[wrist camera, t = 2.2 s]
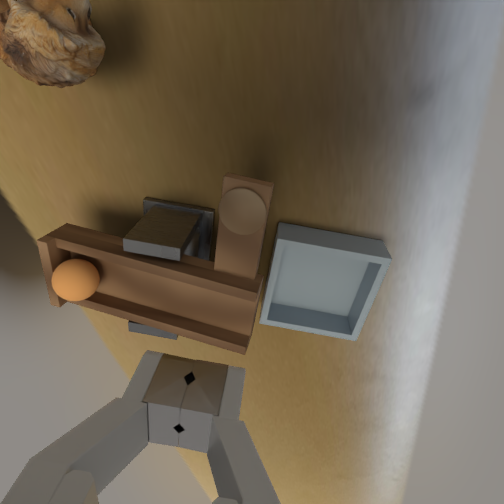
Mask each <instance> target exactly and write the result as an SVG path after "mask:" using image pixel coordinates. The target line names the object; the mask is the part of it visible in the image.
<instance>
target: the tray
mask: <svg viewBox="0 0 504 504" xmlns="http://www.w3.org/2000/svg"><path fill="white" fill-rule="evenodd" d="M391 261H392V258H391V256H390V254H389V252H388V250H387V248H386V246H385V244H384V242H383V241H381V240H376V239H370V238H364V237H359V236H353V235H348V234H342V233H337V232H331V231H326V230H320V229H315V228H309V227H303V226H298V225H292V224H287V223H281V222H279V224H278V229H277V233H276V238H275V243H274V247H273V252H272V257H271V262H270V266H269V271H268V276H267V280H266V285H265V290H264V295H263V299H262V305H261V314H260V322H259V323H260V324H266V325H271V326H277V327H282V328H288V329H293V330H299V331H304V332H309V333H315V334H320V335H326V336H331V337H337V338H342V339H348V340H353V341H356V340H357V338H358V335H359V333H360V331H361V329H362V326H363V324H364V322H365V320H366V317H367V315H368V313H369V310H370V308H371V306H372V304H373V301H374V299H375V297H376V295H377V292H378V290H379V288H380V286H381V283H382V281H383V279H384V276H385V274H386V272H387V270H388V267H389V265H390V263H391Z"/></svg>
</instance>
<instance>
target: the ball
mask: <svg viewBox="0 0 504 504" xmlns="http://www.w3.org/2000/svg"><path fill="white" fill-rule="evenodd" d="M99 281H100V277H99V273H98V270H97V269H96V267H95V266H94V265H93V264H92V263H90V262H88V261H86V260H83V259H70V260H67V261H64V262H63V263H61V264H60V265H59V266H58V267H57V268H56V269H55V270H54V272H53V275H52V281H51V282H52V287H53V289H54V291H55V292H56V294H57V295H58V296H60V297H61V298H63V299H65V300H68V301H81V300H84V299H87V298H88V297H90V296H91V295H92V294H94V292H95V291H96V290H97V288H98V286H99Z"/></svg>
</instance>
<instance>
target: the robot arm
mask: <svg viewBox="0 0 504 504" xmlns="http://www.w3.org/2000/svg"><path fill="white" fill-rule="evenodd" d="M228 366H229V365H225V364H220V363H214V362H208V361H202V360H193V359H188V358H183V357H179V356H174V355H169V354H165V353H159V352H154V351H149V350H147V351H146V352H145V354H144V355H143V357H142V359H141V361H140V363H139V365H138V367H137V369H136V371H135V373H134V375H133V377H132V379H131V381H130V383H129V385H128V387H127V389H126V391H125V393H124V395H123V397H122V398H115V399H114V400H112V401H111V402H110V403H108V404H107V405H106V406H104V407H103V408H101V409H100V410H98V411H97V412H95V413H94V414H93V415H91V416H90V417H88V418H87V419H86V420H84V421H83V422H81V423H80V424H79V425H77V426H76V427H74V428H73V429H72V430H70V431H69V432H67V433H66V434H64V435H63V436H62V437H60V438H59V439H57V440H56V441H55V442H53V443H52V444H50V445H49V446H47V447H46V448H45V449H43V450H42V451H40V452H39V453H38V454H36V455H35V456H33V457H32V458H31V459H30V460H29V461H28V463H27V464H26V466H25V467H24V469H23V470H22V472H21V474H20V475H19V476H18V478H17V480H16V481H15V483H14V484H13V486H12V487H11V489H10V490H9V492H8V493H7V495H6V496H5V498H4V499H3V501H2V502H1V504H99V502H98V497H97V495H98V494H99V493H100V492H101V491H102V490H103V489H104V488H105V487H106V486H107V485H108V484H109V483H110V482H111V481H112V480H113V479H114V478H115V477H116V476H117V475H118V474H119V473H120V472H121V471H122V470H123V469H124V468H125V467H126V466H127V465H128V464H129V463H130V462H131V461H132V460H133V459H134V458H135V457H136V456H137V455H138V454H139V453H140V452H141V451H142V450H143V449H144V448H145V447H146V446H147V445H148V442H151V443H157V444H164V445H170V446H176V447H181V448H186V449H190V450H195V451H199V452H204V453H207V457H208V460H209V464H210V467H211V471H212V474H213V478H214V481H215V485H216V488H217V492H218V495H219V497H218V498H217V499H216V500H214V501H213V502H212V504H280V501H279V499H278V497H277V495H276V492H275V490H274V488H273V486H272V484H271V481H270V479H269V477H268V475H267V472H266V470H265V468H264V466H263V463H262V461H261V459H260V457H259V455H258V452H257V450H256V448H255V446H254V443H253V441H252V439H251V437H250V434H249V432H248V430H247V428H246V426H245V423H244V421H240V420H239V414H240V407H241V400H242V393H243V386H244V379H245V372H246V371H245V368H240V367H234V366H229V368H228ZM178 445H179V446H178Z"/></svg>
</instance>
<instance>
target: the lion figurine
mask: <svg viewBox="0 0 504 504" xmlns="http://www.w3.org/2000/svg"><path fill="white" fill-rule="evenodd" d="M91 11H92V7H91V4H90V2H89V0H17V1H14V0H0V59H2V60H3V62H4V63H5V64H6V65H7V66H9V67H11V68H13V69H14V70H15V71H17V72H18V73H19V74H20V75H21V76H23V77H24V78H25V79H28V80H31V81H33V82H35V83H36V84H37V85H40V86H42V85H46V86H55V85H56V86H57V87H60V88H63V87H65V86H73V85H77V84H81V83H83V82H85V80H86V79H87V78H88V77H91V76H93V75H95V74H96V72H97V67H98V66H99V65H100V61H102V59H103V56H104V51H105V49H106V47H105V44H104V41H103V40H102V39H101V36H100V34H99V33H97V32H96V31H95V29H94V28H93V27H91V26H92V23H91V21H90V15H91Z"/></svg>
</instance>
